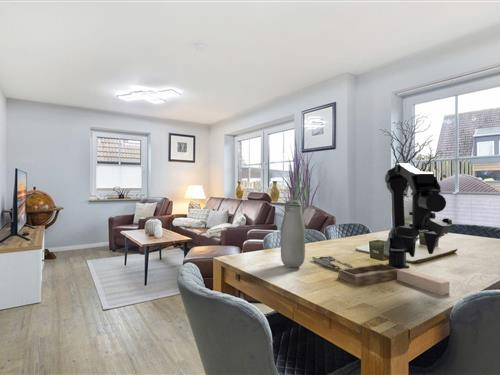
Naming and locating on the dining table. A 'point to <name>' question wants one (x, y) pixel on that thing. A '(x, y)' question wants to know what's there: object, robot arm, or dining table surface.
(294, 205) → the grey vase
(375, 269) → the brown wooden tray
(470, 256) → the dining table surface
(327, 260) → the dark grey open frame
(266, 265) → the dining table surface
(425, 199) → the robot arm
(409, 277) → the pale pink bar
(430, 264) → the dining table surface
